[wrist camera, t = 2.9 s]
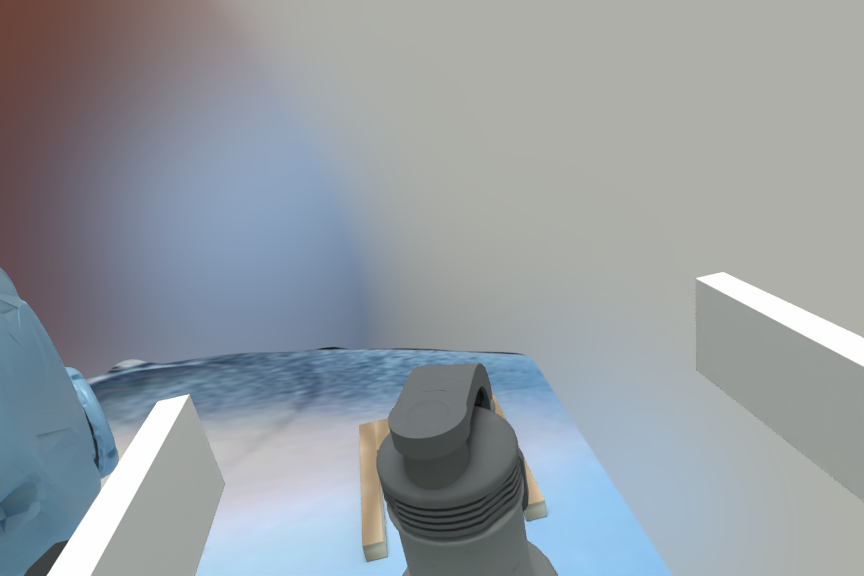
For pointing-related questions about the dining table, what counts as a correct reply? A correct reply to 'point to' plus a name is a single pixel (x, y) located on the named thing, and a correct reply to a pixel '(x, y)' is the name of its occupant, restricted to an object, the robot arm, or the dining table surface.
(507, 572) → the water bottle
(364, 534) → the oak cut-out board
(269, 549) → the dining table surface
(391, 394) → the dining table surface
